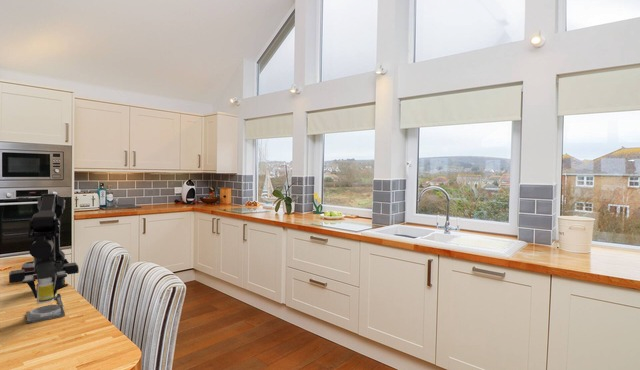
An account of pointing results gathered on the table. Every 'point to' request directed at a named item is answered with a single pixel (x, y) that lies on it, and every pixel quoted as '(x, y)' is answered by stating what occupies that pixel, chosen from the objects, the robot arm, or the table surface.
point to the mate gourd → (29, 268)
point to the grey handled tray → (46, 311)
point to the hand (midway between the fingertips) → (45, 296)
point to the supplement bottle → (45, 290)
